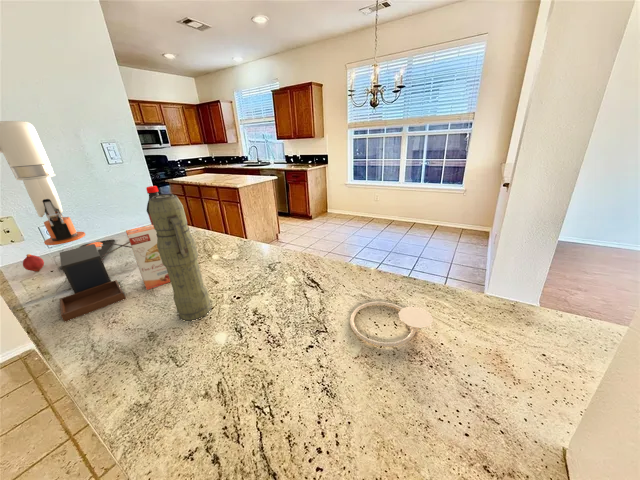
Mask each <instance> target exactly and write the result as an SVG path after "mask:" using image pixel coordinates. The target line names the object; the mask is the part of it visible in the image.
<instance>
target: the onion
mask: <svg viewBox="0 0 640 480" xmlns="http://www.w3.org/2000/svg"><path fill="white" fill-rule="evenodd" d="M25 256H26V257H25V258H24V259H23V261H22V267H23V268H24V269H25V270H27V271H29V272H35V273H38V272H40V271H41V270H42V269H43V267H44V265H45V261H44V259H43V258H42V257H40V256H38V255H35V254H31V253H28V254H26V255H25Z"/></svg>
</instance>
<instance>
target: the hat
mask: <svg viewBox="0 0 640 480" xmlns="http://www.w3.org/2000/svg"><path fill="white" fill-rule="evenodd" d="M62 218H63V221H64V223H66V224H67V227H68V229H69V231H70V233H71V237H68V238H64V239H60V240H57V239H56V237H55V235H54V233H53V231H52V229H51V227H50V226H51V224H50V222H49V220H48V219H47V220H45V221H43V225H44V227H45V229H46V231H47V233H48V235H49V238H47V239H45V240H43V241H44V242H43V243H44V245H46V246H57V245H58V246H59V245H62V244H67V243H72V242H75V241H77V240H80V239H82V238H85V236H86V232H85V231H77V229H76V227H75V225H74V223H73V221H72V219H71V217H70V216H63V217H62ZM60 221H61V220H60Z"/></svg>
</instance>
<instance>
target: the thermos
mask: <svg viewBox="0 0 640 480" xmlns="http://www.w3.org/2000/svg"><path fill="white" fill-rule="evenodd" d="M148 201H149V213H150V216H151V219H152V222H153V226H154V229H155V230H156V232H157V234H156V235H157V248H158V251H159V254H160V257H161V260H162V263H163V265H164V266H165V267H166V269H167V272H168V275H169V278H170V282H169V283H170V285H171V288H172V291H173V301H174V304H175V308H176V311H177V312H178V314H179V318H180V320H181V319H182V320H181V321H183V320H185V321H192V320H196V319H199V318H201V317H203V316H205V315H206V314H207V313H209V311H210V310H211V311H212V305H211V297H210V295H209V290H208V288H207V287H206V286H205V283H204V279H203V275H202V270H201V268H200V267H201V266H200V263H199V260H198V258H199V252H198V248H197V244H196V241H195V237H194V236H193V234H192V233H191V232H190V228H189V226H188V220H187V216H186V215H187V214H186V212H185V208H184V205H183V203H182V201H181V199H179V197H178V195H176V194H174V193H163V194H159V195H157V196H154V197H152V198H151V199H149V198H148ZM211 311H210V312H211ZM209 314H210V313H209ZM205 317H206V316H205ZM199 320H200V319H199ZM185 321H184V322H185ZM192 322H193V321H192Z"/></svg>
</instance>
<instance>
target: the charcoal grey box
mask: <svg viewBox="0 0 640 480" xmlns="http://www.w3.org/2000/svg"><path fill="white" fill-rule="evenodd" d="M79 247H80V246H79ZM79 247H76V248H72V249H68V250H64V251H60V252H59V259H60V266H61V267H62V269H63V270H62V271H63V273H64V275H65V278H66V279H67V281H68V283H69V285H70V287H71V289H72V292H73V294H75V293H78V292H81V291H84V290H87V289H90V288H93V287H96V286H99V285H102V284H105V283H108V282H111V281H112V280H111V278H110V276H109V273H108V271H107V268H106V267H105V264H104V261H103V260H102V259H101V257H100V254H99V252H98V250H97V248H96V246H95V244H92V245H88V246H84V247H80V248H79Z"/></svg>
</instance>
